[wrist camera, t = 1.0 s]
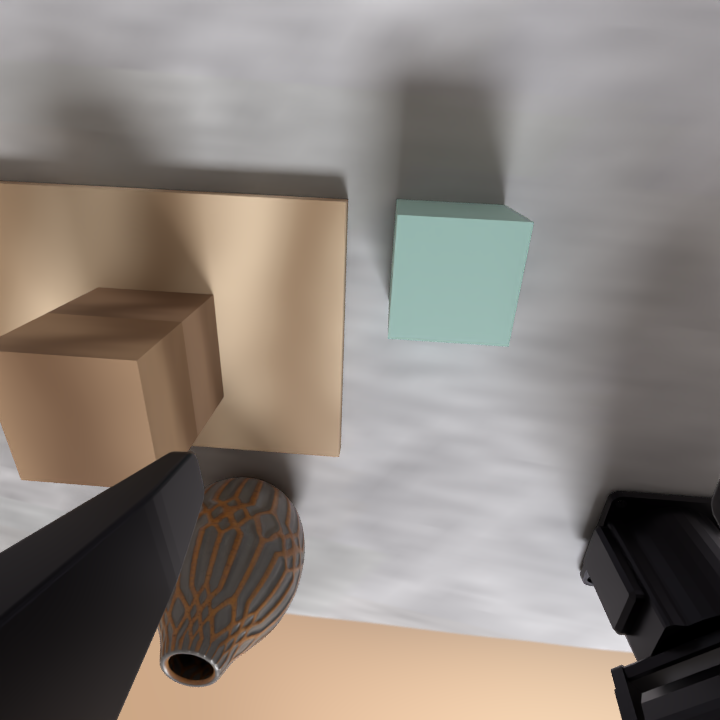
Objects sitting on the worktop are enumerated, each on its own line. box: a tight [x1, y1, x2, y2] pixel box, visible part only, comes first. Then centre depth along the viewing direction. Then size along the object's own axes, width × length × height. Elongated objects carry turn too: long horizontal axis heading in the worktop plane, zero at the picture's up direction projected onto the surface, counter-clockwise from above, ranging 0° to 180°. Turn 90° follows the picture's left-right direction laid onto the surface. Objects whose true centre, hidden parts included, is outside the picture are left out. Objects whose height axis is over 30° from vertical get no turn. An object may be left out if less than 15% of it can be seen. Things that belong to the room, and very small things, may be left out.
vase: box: [157, 477, 305, 687], centre depth 21 cm, size 7×7×9 cm
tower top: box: [0, 313, 198, 487], centre depth 16 cm, size 5×5×3 cm
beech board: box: [0, 181, 348, 457], centre depth 21 cm, size 16×12×1 cm
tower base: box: [48, 287, 224, 436], centre depth 19 cm, size 5×5×3 cm
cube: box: [388, 199, 534, 347], centre depth 17 cm, size 4×4×4 cm
